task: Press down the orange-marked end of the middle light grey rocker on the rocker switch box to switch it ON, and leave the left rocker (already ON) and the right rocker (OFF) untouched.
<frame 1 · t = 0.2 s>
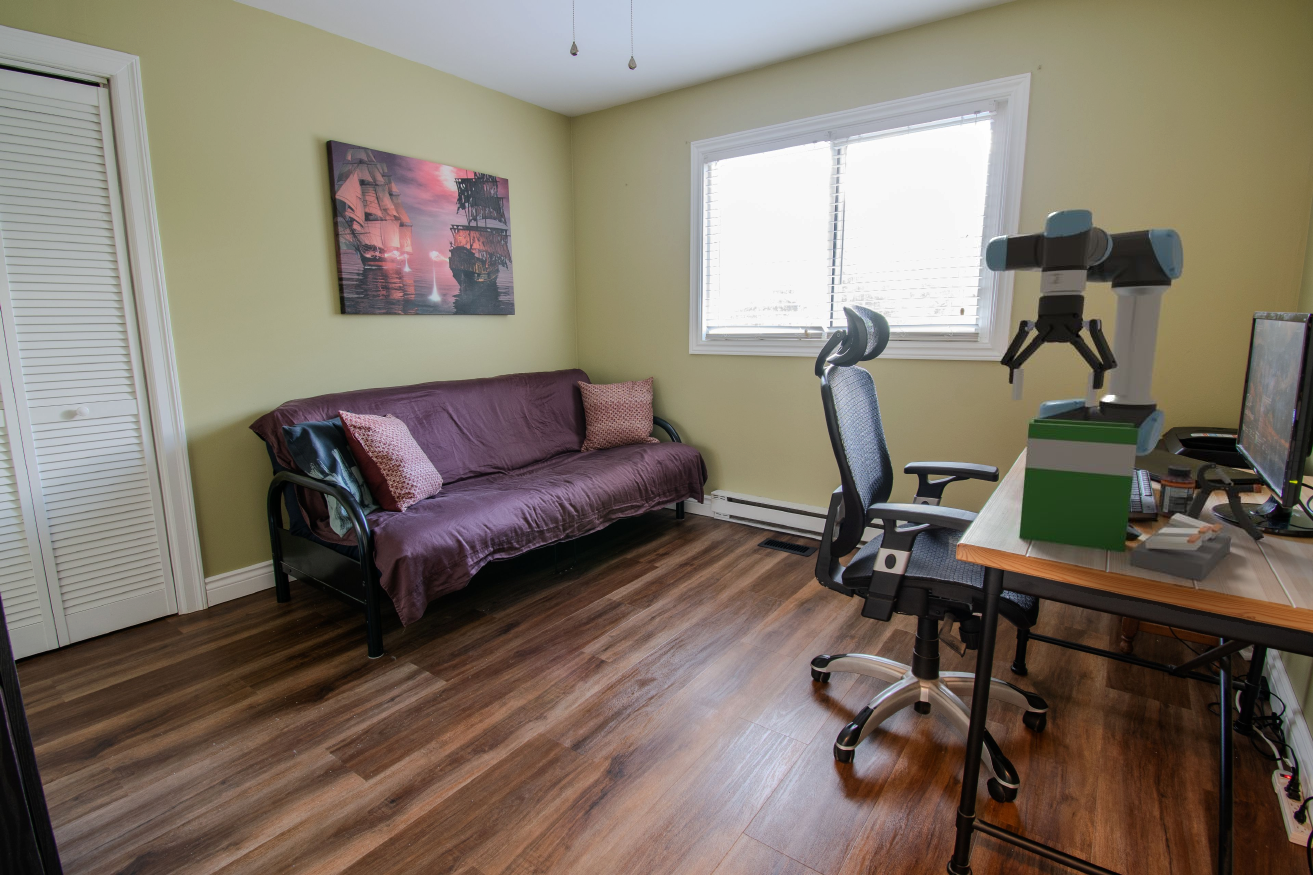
hand: (1051, 403, 128), 28 cm above the table, tool pointing down, fingers open, 13 cm apart
hand grip strengthener: (1221, 537, 131), on the table
supplement bottle: (1173, 516, 145), on the table
left rocker: (1195, 524, 123), point 5 cm above the table, hinge at -12.0°
middle rocker: (1184, 532, 118), point 5 cm above the table, hinge at 12.0°
right rocker: (1173, 541, 114), point 5 cm above the table, hinge at 12.0°
rocker switch box: (1181, 557, 119), on the table
hardback book: (1069, 540, 130), on the table
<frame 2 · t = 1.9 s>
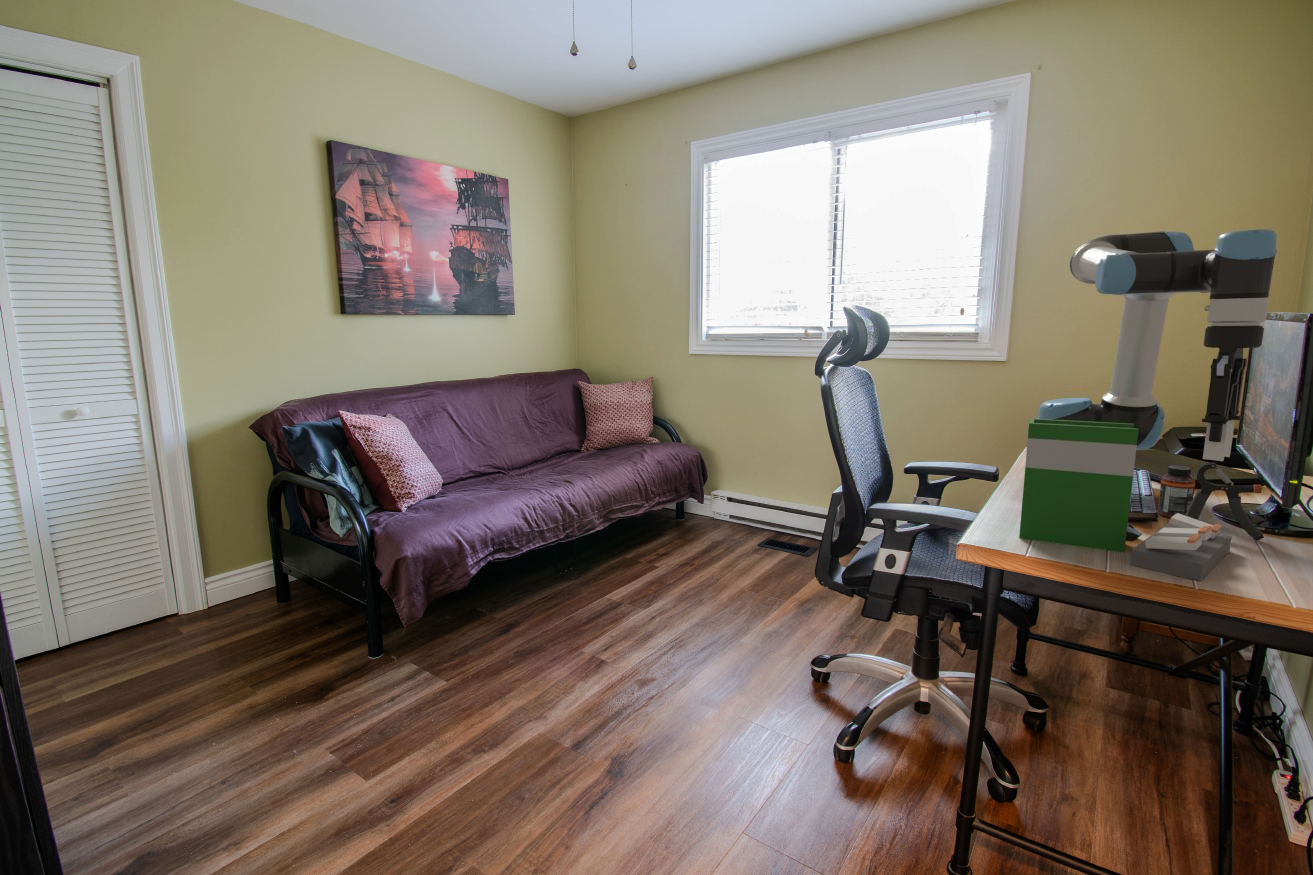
hand: (1216, 457, 114), 20 cm above the table, tool pointing down, fingers open, 4 cm apart
nothing on the table moved.
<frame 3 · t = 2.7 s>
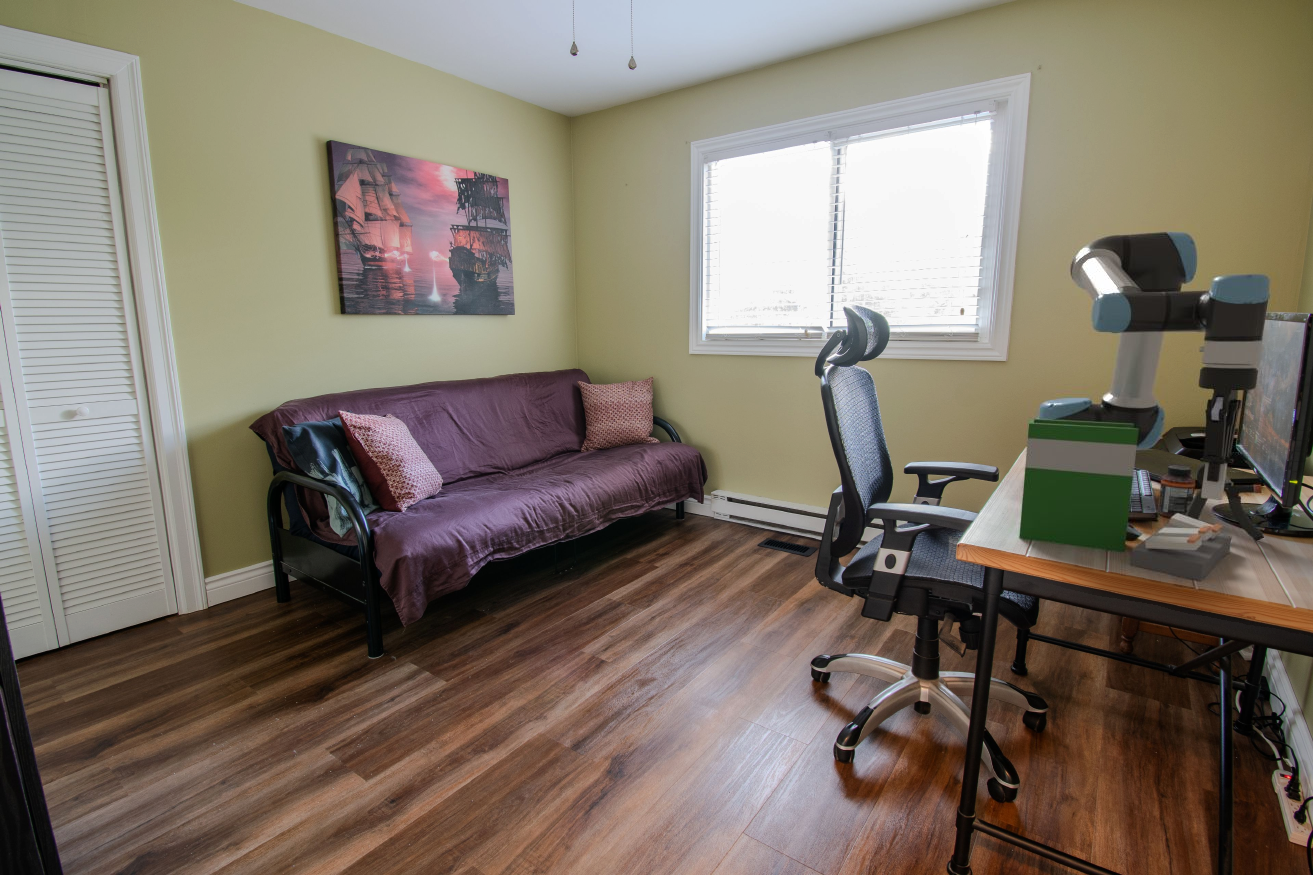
hand: (1211, 498, 115), 12 cm above the table, tool pointing down, fingers closed
nothing on the table moved.
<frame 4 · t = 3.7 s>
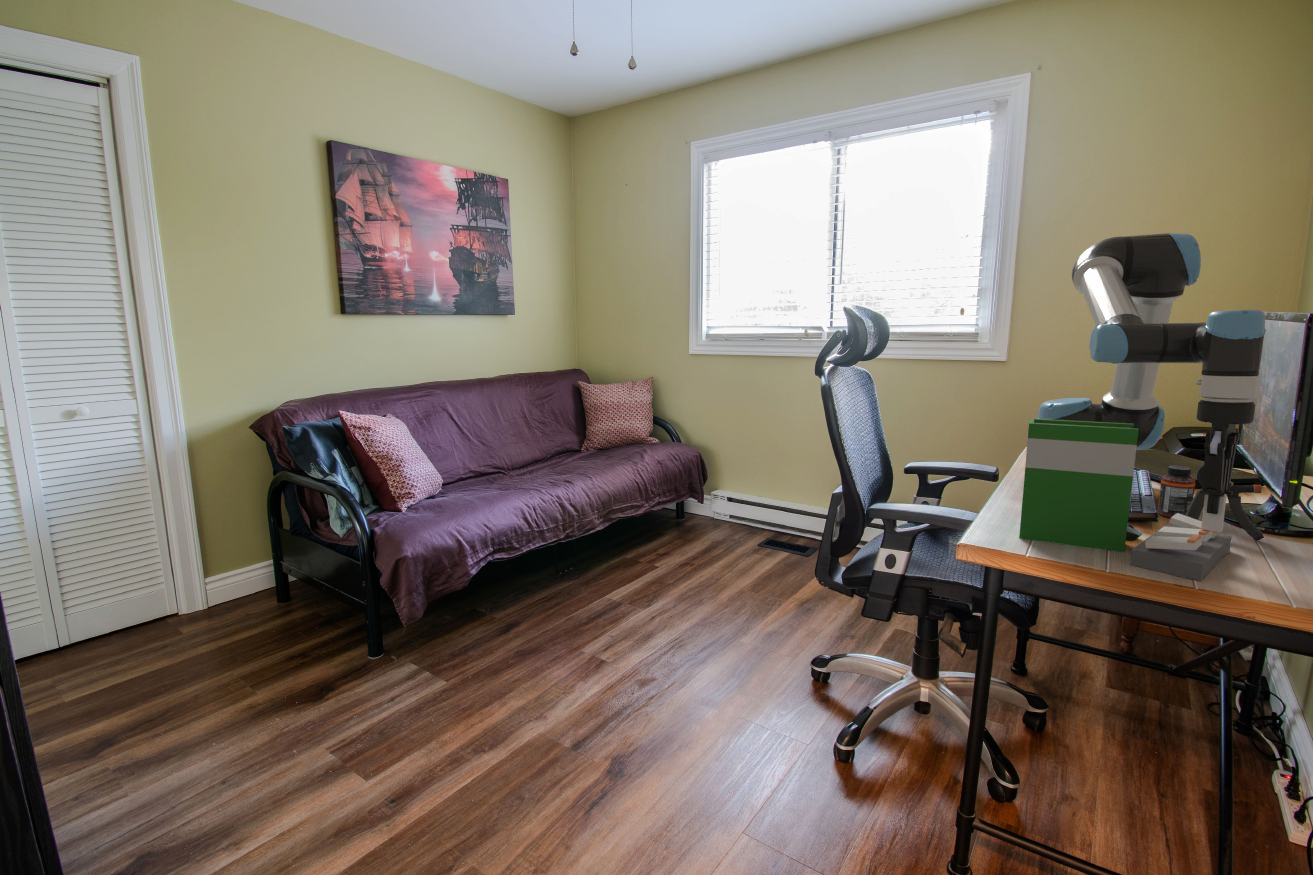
hand: (1211, 529, 115), 6 cm above the table, tool pointing down, fingers closed
middle rocker: (1184, 532, 118), point 5 cm above the table, hinge at 7.9°, touching gripper
everything else where it was.
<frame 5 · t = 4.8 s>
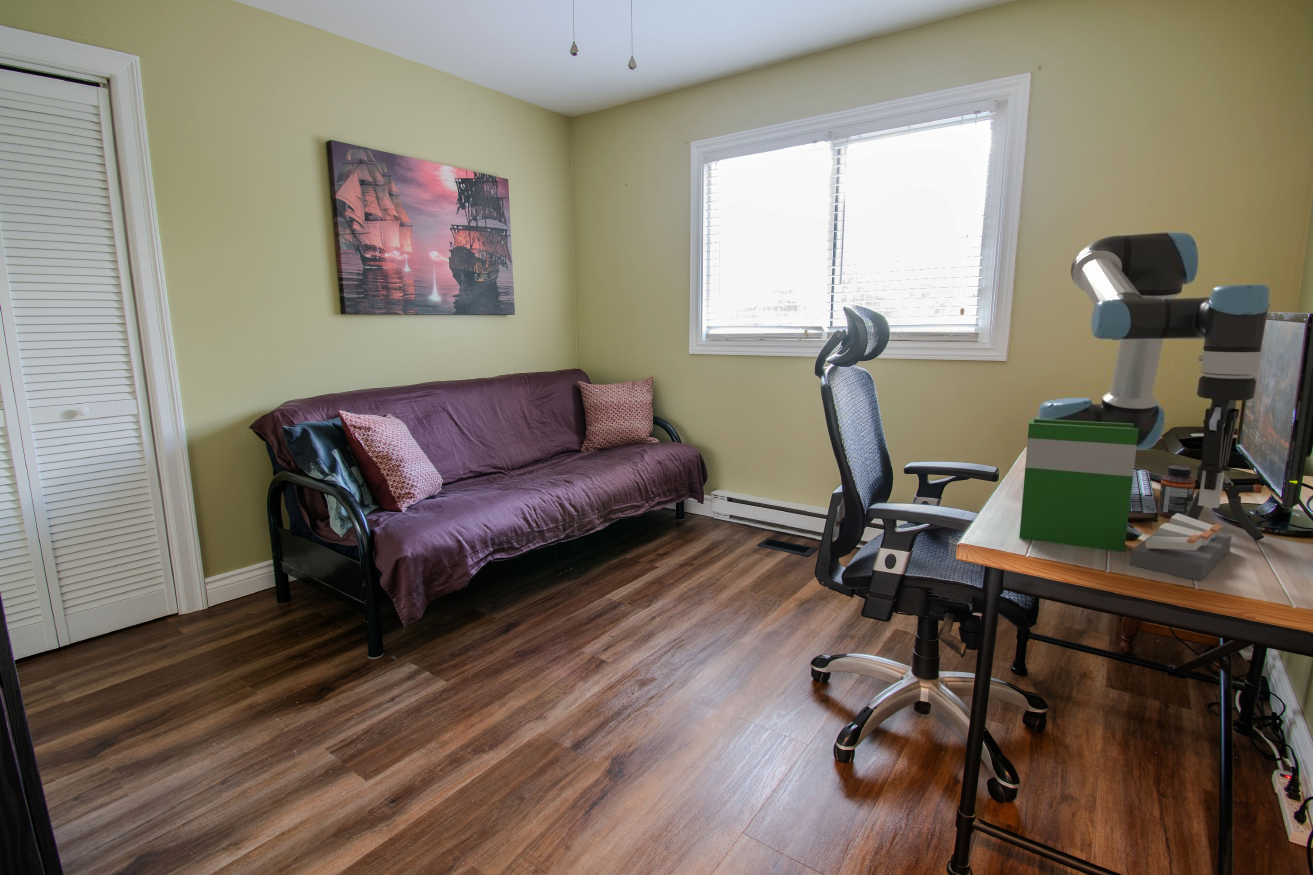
hand: (1208, 505, 116), 11 cm above the table, tool pointing down, fingers closed
middle rocker: (1184, 532, 118), point 5 cm above the table, hinge at -4.8°
everything else where it was.
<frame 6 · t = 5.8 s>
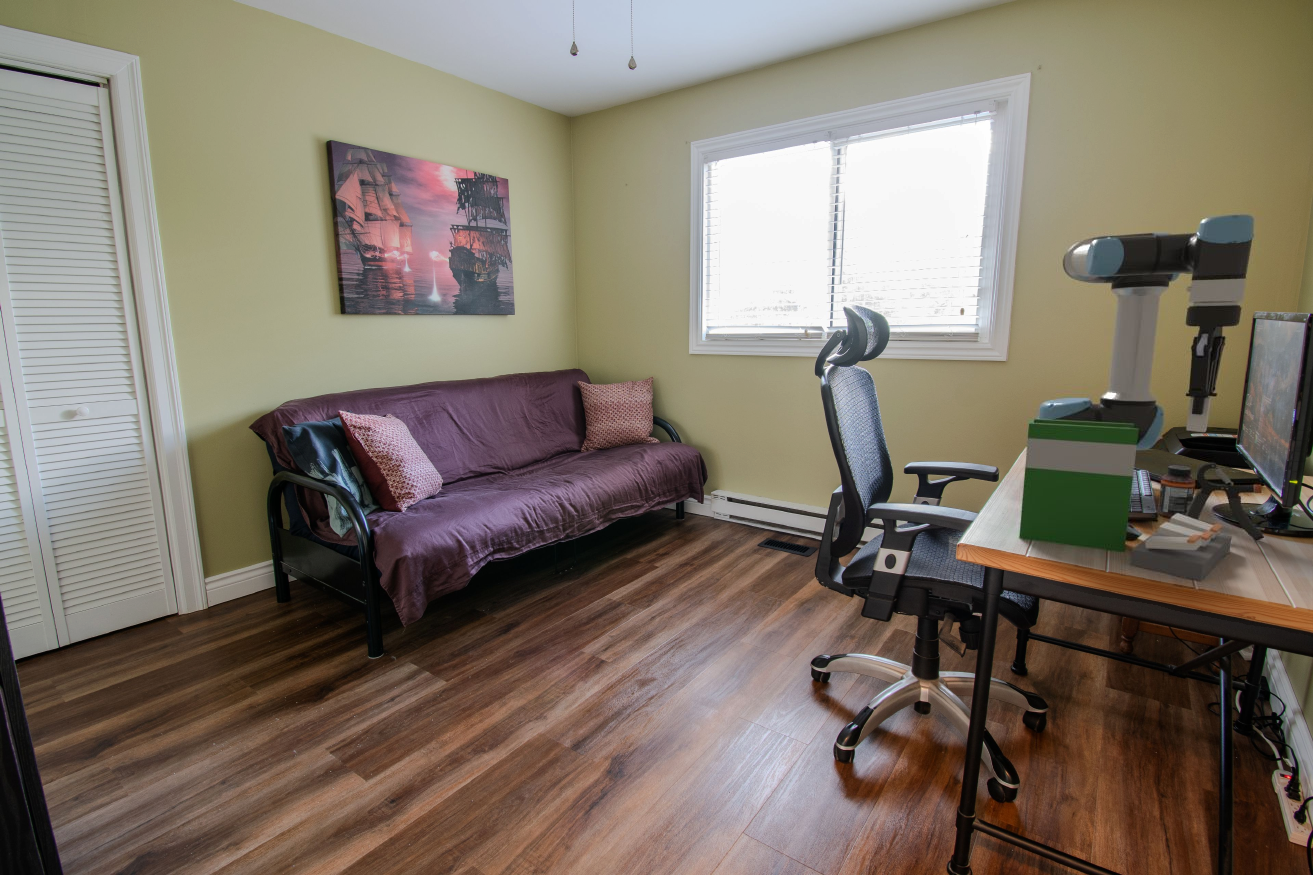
hand: (1196, 430, 122), 23 cm above the table, tool pointing down, fingers closed
middle rocker: (1184, 532, 118), point 5 cm above the table, hinge at -7.8°
everything else where it was.
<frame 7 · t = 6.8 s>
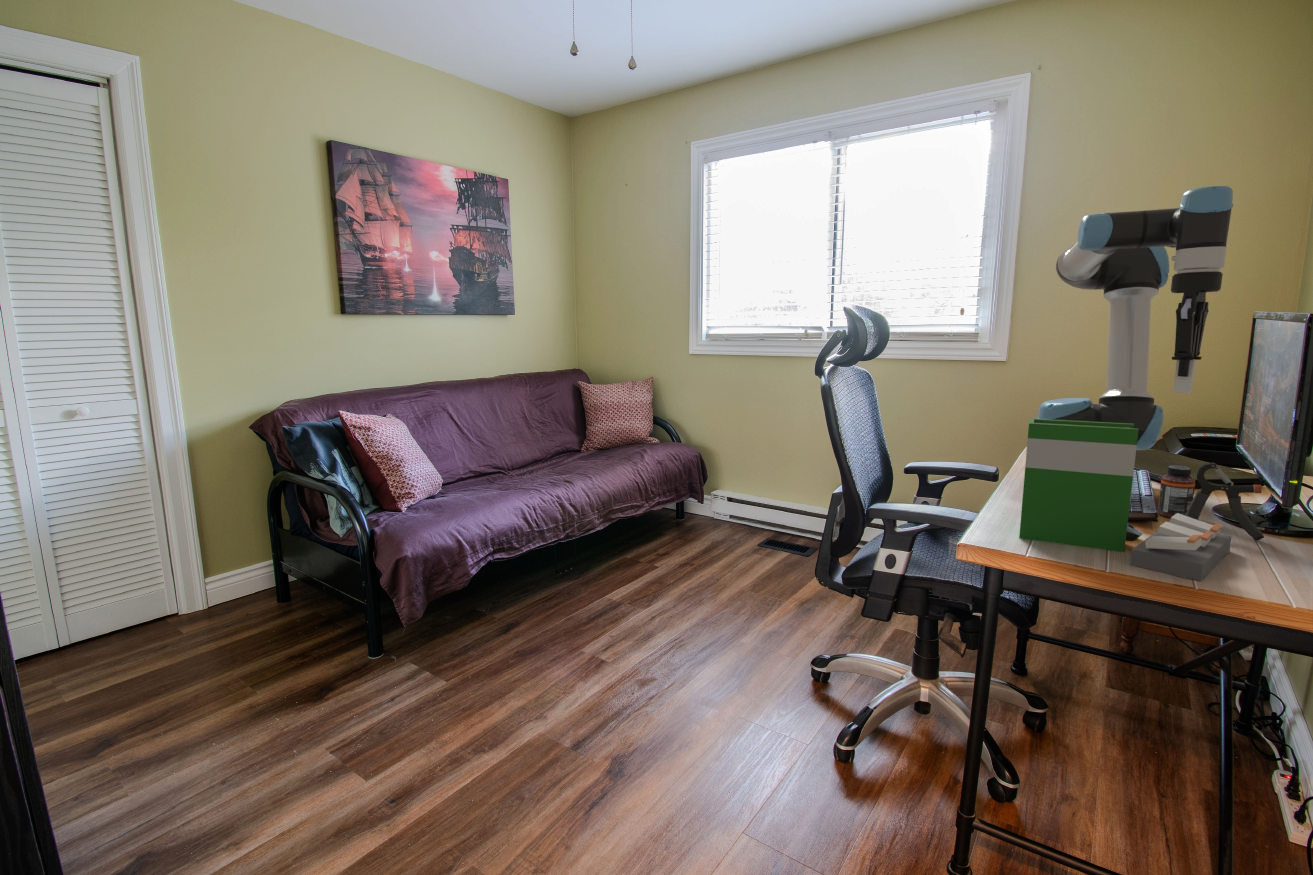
hand: (1182, 392, 128), 29 cm above the table, tool pointing down, fingers closed
middle rocker: (1184, 532, 118), point 5 cm above the table, hinge at -9.0°
everything else where it was.
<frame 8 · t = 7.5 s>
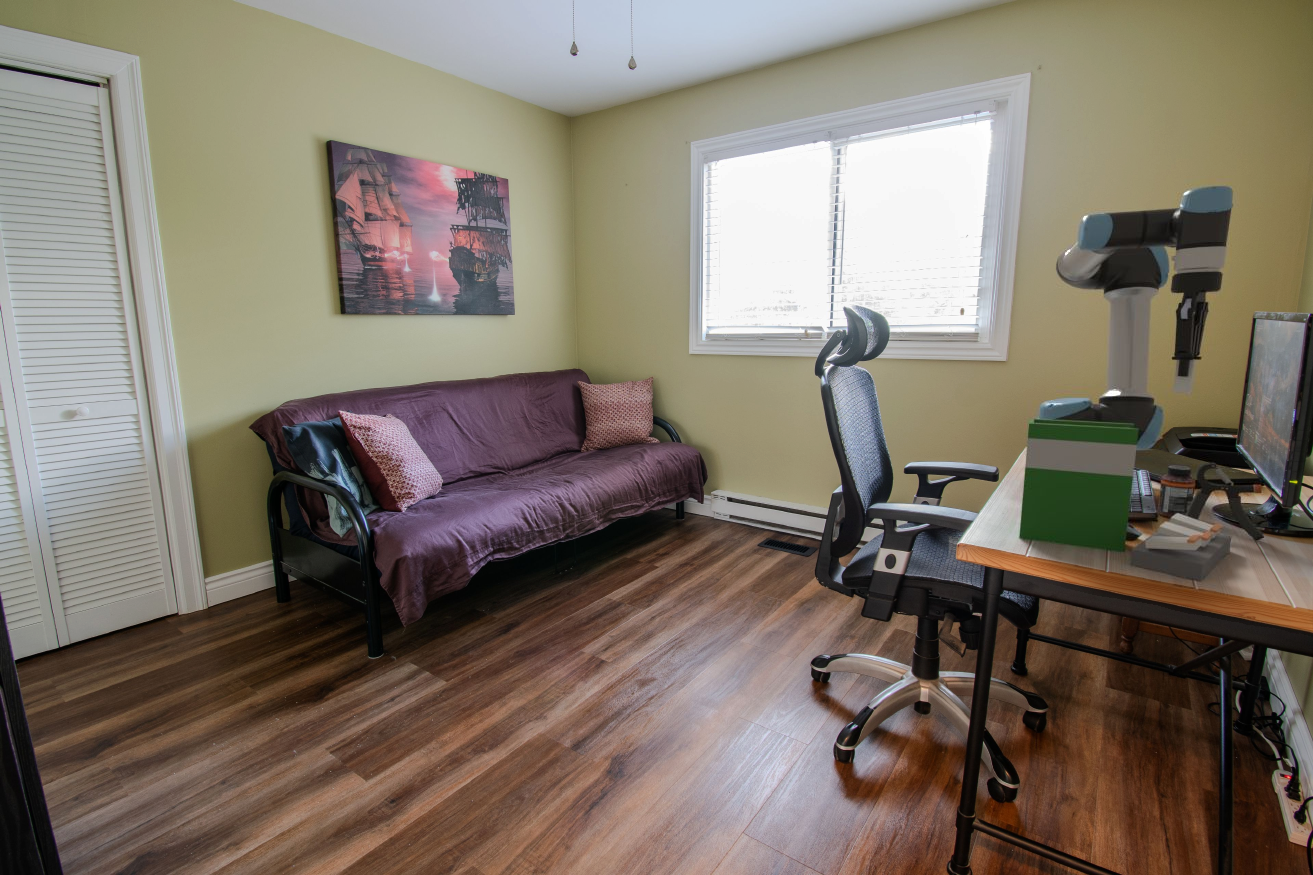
hand: (1182, 392, 128), 29 cm above the table, tool pointing down, fingers closed
middle rocker: (1184, 532, 118), point 5 cm above the table, hinge at -9.4°
everything else where it was.
at the end: middle rocker at -9° (first picture: +12°); left rocker at -12° (first picture: -12°); right rocker at +12° (first picture: +12°) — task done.
